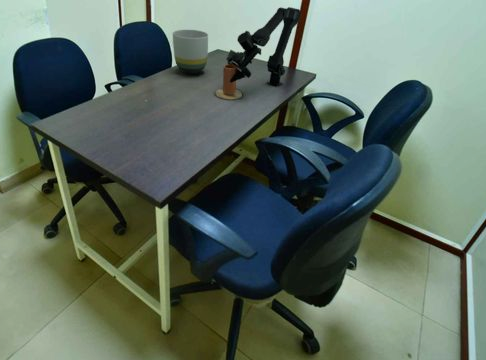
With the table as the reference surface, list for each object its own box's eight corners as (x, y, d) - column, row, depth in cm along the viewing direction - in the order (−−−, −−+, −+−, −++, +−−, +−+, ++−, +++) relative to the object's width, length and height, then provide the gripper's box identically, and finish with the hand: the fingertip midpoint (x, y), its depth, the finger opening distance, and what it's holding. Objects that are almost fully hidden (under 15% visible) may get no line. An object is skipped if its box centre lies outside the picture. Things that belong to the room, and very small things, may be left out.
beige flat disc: (227, 86, 165) (227, 86, 165) (247, 94, 159) (247, 93, 158) (209, 93, 156) (209, 92, 156) (230, 102, 150) (230, 101, 150)
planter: (168, 70, 179) (165, 31, 166) (195, 65, 190) (194, 28, 176) (187, 80, 168) (185, 39, 155) (214, 74, 179) (215, 36, 166)
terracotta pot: (225, 88, 160) (227, 63, 152) (237, 90, 158) (238, 66, 150) (220, 92, 155) (221, 67, 147) (232, 95, 153) (233, 69, 145)
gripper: (230, 39, 150) (209, 63, 153) (247, 49, 137) (225, 75, 140) (243, 54, 158) (223, 77, 161) (260, 65, 145) (238, 90, 148)
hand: (227, 79), depth 152 cm, fingers closed on terracotta pot, 7 cm apart
